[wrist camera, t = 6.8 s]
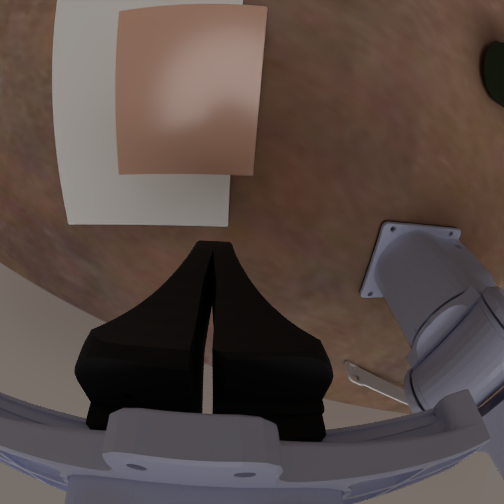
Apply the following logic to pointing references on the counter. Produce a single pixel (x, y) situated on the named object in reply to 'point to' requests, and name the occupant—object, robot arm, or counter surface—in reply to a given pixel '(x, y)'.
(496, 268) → the counter surface
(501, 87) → the character mug
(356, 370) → the white long handled piece
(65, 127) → the board
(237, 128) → the tile
